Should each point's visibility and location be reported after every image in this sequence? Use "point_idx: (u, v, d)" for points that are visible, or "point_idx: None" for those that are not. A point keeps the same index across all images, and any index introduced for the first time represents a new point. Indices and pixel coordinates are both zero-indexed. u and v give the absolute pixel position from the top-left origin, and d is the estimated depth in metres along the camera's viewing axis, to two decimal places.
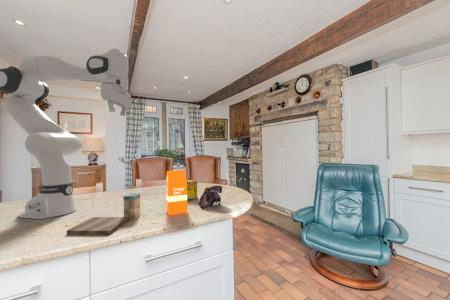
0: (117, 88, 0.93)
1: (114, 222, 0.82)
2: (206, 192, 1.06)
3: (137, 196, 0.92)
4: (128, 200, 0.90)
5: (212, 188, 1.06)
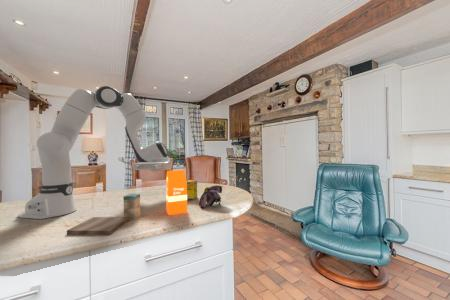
0: (162, 168, 1.17)
1: (114, 222, 0.82)
2: (206, 192, 1.06)
3: (137, 196, 0.92)
4: (128, 200, 0.90)
5: (212, 188, 1.06)
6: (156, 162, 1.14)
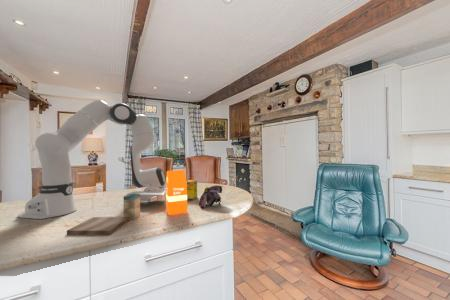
0: None
1: (114, 222, 0.82)
2: (206, 192, 1.06)
3: (137, 196, 0.92)
4: (128, 200, 0.90)
5: (212, 188, 1.06)
6: (151, 193, 1.08)
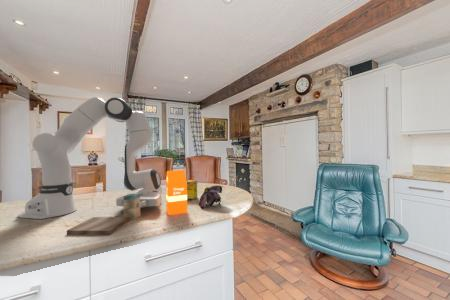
0: None
1: (114, 222, 0.82)
2: (206, 192, 1.06)
3: (137, 196, 0.92)
4: (128, 200, 0.90)
5: (212, 188, 1.06)
6: (144, 197, 0.99)
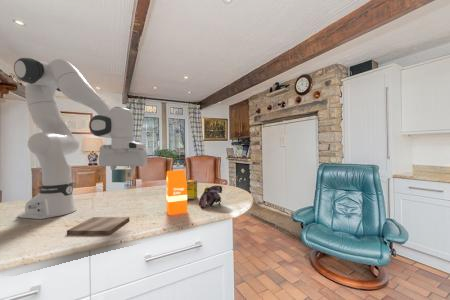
0: None
1: (114, 222, 0.82)
2: (206, 192, 1.06)
3: (124, 175, 0.86)
4: None
5: (212, 188, 1.06)
6: (127, 160, 0.87)
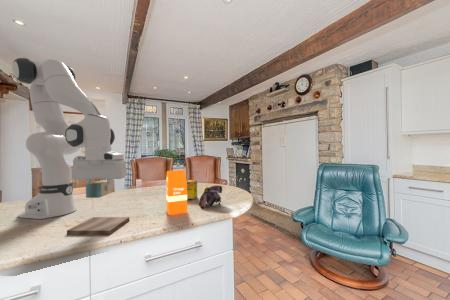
0: None
1: (114, 222, 0.82)
2: (206, 192, 1.06)
3: (100, 190, 0.77)
4: None
5: (212, 188, 1.06)
6: (103, 172, 0.79)
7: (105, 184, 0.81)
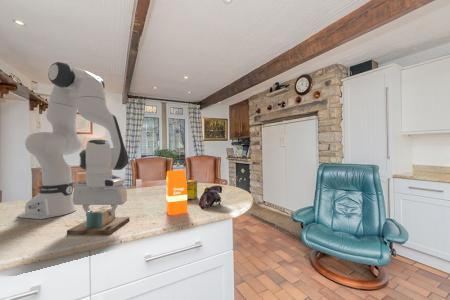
0: None
1: (114, 222, 0.82)
2: (206, 192, 1.06)
3: (100, 219, 0.78)
4: None
5: (212, 188, 1.06)
6: (104, 198, 0.79)
7: (106, 213, 0.81)
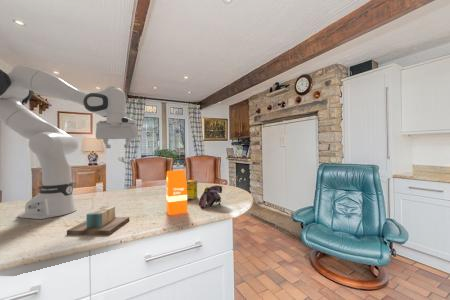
0: None
1: (114, 222, 0.82)
2: (206, 192, 1.06)
3: (100, 219, 0.78)
4: None
5: (212, 188, 1.06)
6: (120, 133, 1.00)
7: (106, 213, 0.81)
